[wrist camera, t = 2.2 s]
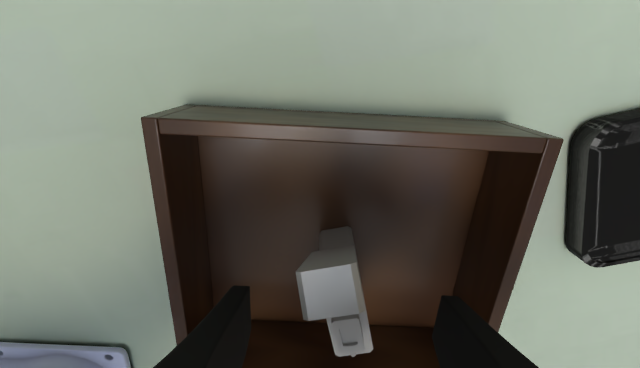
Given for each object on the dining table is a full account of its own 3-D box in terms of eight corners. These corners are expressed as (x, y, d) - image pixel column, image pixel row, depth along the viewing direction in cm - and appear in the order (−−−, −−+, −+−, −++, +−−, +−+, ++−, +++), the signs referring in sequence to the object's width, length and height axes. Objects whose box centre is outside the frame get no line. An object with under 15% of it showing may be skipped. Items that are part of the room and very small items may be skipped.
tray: (208, 319, 19) (181, 379, 16) (185, 104, 14) (139, 117, 11) (449, 330, 19) (478, 392, 16) (504, 120, 15) (564, 139, 11)
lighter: (362, 287, 18) (391, 448, 10) (332, 292, 18) (340, 454, 10) (341, 173, 15) (358, 276, 8) (307, 180, 15) (292, 287, 8)
